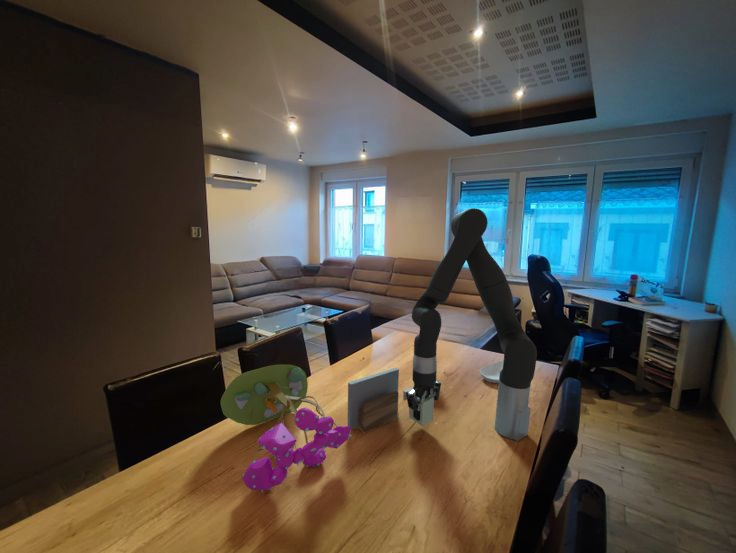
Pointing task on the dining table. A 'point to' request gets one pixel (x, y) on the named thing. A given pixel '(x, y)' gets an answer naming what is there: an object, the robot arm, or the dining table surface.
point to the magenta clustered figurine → (279, 421)
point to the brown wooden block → (378, 412)
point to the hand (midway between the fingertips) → (423, 416)
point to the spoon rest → (492, 371)
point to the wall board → (369, 391)
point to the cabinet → (422, 409)
